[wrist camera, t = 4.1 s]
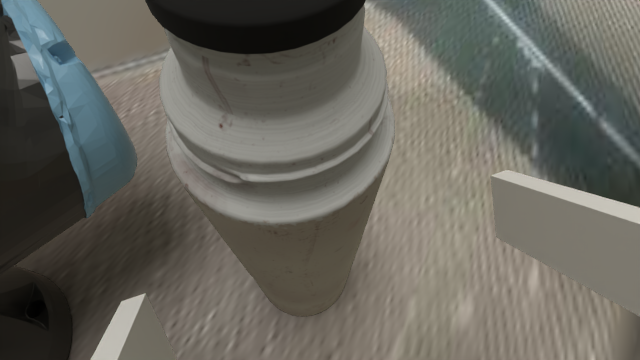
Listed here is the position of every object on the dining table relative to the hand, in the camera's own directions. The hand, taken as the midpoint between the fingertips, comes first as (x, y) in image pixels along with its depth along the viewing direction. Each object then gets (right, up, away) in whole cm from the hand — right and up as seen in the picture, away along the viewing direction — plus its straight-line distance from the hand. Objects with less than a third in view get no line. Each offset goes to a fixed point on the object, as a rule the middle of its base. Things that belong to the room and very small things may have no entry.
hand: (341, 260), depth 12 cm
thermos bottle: (-2, -6, +19) cm, 20 cm away
